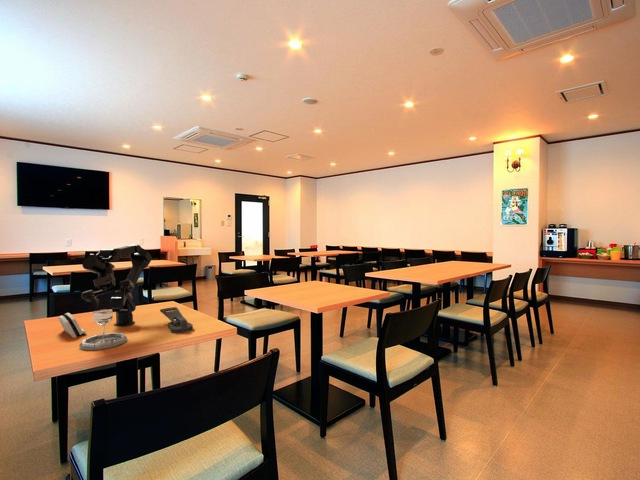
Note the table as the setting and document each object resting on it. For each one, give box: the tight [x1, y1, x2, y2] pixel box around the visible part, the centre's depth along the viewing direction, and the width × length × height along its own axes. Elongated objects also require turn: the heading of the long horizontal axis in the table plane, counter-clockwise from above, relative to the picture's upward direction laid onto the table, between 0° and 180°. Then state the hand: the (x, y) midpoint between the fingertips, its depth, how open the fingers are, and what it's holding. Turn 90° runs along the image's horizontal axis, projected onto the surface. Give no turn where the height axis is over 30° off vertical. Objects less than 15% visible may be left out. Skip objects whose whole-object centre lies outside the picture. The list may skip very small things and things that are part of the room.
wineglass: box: [92, 308, 114, 343], centre depth 136 cm, size 7×7×12 cm
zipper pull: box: [159, 306, 194, 335], centre depth 159 cm, size 9×7×25 cm
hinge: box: [57, 312, 88, 339], centre depth 150 cm, size 17×5×10 cm, turn 47°
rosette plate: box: [78, 332, 128, 352], centre depth 136 cm, size 16×16×2 cm
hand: (111, 308), depth 144 cm, fingers open, 9 cm apart
